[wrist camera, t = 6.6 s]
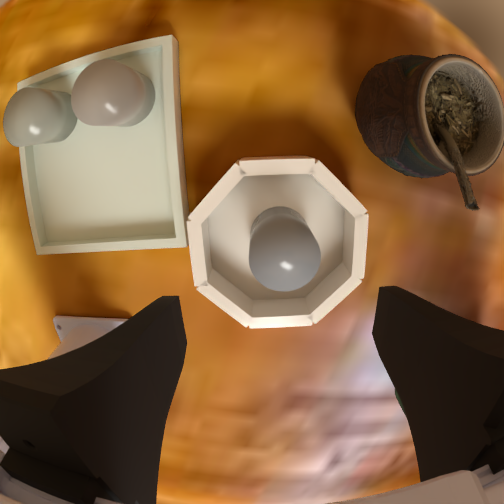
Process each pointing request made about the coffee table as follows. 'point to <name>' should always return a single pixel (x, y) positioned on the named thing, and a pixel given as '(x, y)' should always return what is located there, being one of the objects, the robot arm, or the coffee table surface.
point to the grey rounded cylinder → (283, 250)
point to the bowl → (238, 240)
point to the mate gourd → (432, 117)
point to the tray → (111, 166)
